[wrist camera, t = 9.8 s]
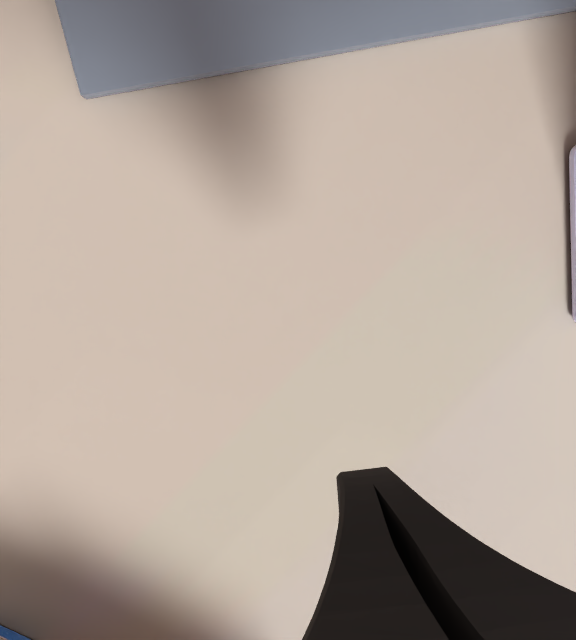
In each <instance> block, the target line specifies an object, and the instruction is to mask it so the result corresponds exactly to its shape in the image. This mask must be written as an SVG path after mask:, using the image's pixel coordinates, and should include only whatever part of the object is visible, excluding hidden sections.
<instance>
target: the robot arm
mask: <svg viewBox="0 0 576 640" xmlns="http://www.w3.org/2000/svg"><path fill="white" fill-rule="evenodd" d="M569 175H570V222H571V269H572V316H573V320H574V321H575V322H576V145H575V146H574V147H573V148H572V149H571V151H570V155H569ZM337 490H338V504H339V523H338V530H337V535H336V541H335V546H334V551H333V555H332V560H331V564H330V567H329V571H328V574H327V578H326V581H325V584H324V587H323V590H322V593H321V596H320V599H319V601H318V604H317V607H316V609H315V612H314V614H313V617H312V619H311V621H310V624H309V626H308V628H307V630H306V632H305V634H304V637H303V639H302V640H576V592H573V591H571V590H569V589H567V588H565V587H563V586H560V585H558V584H556V583H554V582H552V581H550V580H548V579H546V578H544V577H542V576H540V575H538V574H536V573H534V572H532V571H530V570H529V569H527V568H525V567H523V566H521V565H519V564H517V563H516V562H514V561H512V560H510V559H508V558H507V557H505V556H504V555H502V554H500V553H499V552H497V551H495V550H494V549H492V548H490V547H489V546H487V545H485V544H484V543H482V542H481V541H479V540H478V539H476V538H475V537H473V536H472V535H470V534H469V533H467V532H466V531H464V530H463V529H462V528H460V527H459V526H457V525H456V524H455V523H453V522H452V521H450V520H449V519H448V518H447V517H445V516H444V515H443V514H441V513H440V512H439V511H438V510H436V509H435V508H434V507H433V506H431V505H430V504H429V503H428V502H426V501H425V500H424V499H423V498H422V497H421V496H419V495H418V494H417V493H416V492H415V491H414V490H412V489H411V488H410V487H409V486H408V485H407V484H406V483H405V482H403V481H402V480H401V479H400V478H399V477H398V476H397V475H396V474H394V473H393V472H392V471H391V470H390V469H389V468H387V467H380V468H372V469H364V470H355V471H347V472H340V473H339V475H338V476H337Z"/></svg>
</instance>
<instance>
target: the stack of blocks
mask: <svg viewBox="0 0 576 640" xmlns="http://www.w3.org/2000/svg"><path fill="white" fill-rule="evenodd" d="M0 640H31V639H29V638H27V637H25V636H22V635H20V634H18V633H16V632H14V631H12V630H10V629H7V628H5V627H3V626H1V625H0Z"/></svg>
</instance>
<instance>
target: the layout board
mask: <svg viewBox="0 0 576 640" xmlns="http://www.w3.org/2000/svg"><path fill="white" fill-rule="evenodd" d="M55 3H56V6H57V10H58V14H59V17H60V21H61V25H62V28H63V32H64V36H65V39H66V43H67V47H68V50H69V54H70V58H71V61H72V65H73V69H74V72H75V76H76V80H77V83H78V87H79V91H80V94H81V96H82V97H84V98H86V99H91V98H96V97H102V96H107V95H113V94H118V93H124V92H130V91H135V90H141V89H146V88H152V87H157V86H163V85H168V84H174V83H179V82H185V81H190V80H196V79H201V78H207V77H213V76H218V75H224V74H229V73H235V72H240V71H246V70H251V69H257V68H262V67H268V66H273V65H279V64H285V63H290V62H296V61H301V60H307V59H312V58H318V57H323V56H329V55H334V54H340V53H345V52H351V51H356V50H362V49H368V48H373V47H379V46H384V45H390V44H395V43H401V42H406V41H412V40H417V39H423V38H428V37H434V36H440V35H445V34H451V33H456V32H462V31H467V30H473V29H478V28H484V27H489V26H495V25H500V24H506V23H512V22H517V21H523V20H528V19H534V18H539V17H545V16H550V15H556V14H561V13H567V12H572V11H576V0H55Z"/></svg>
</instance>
